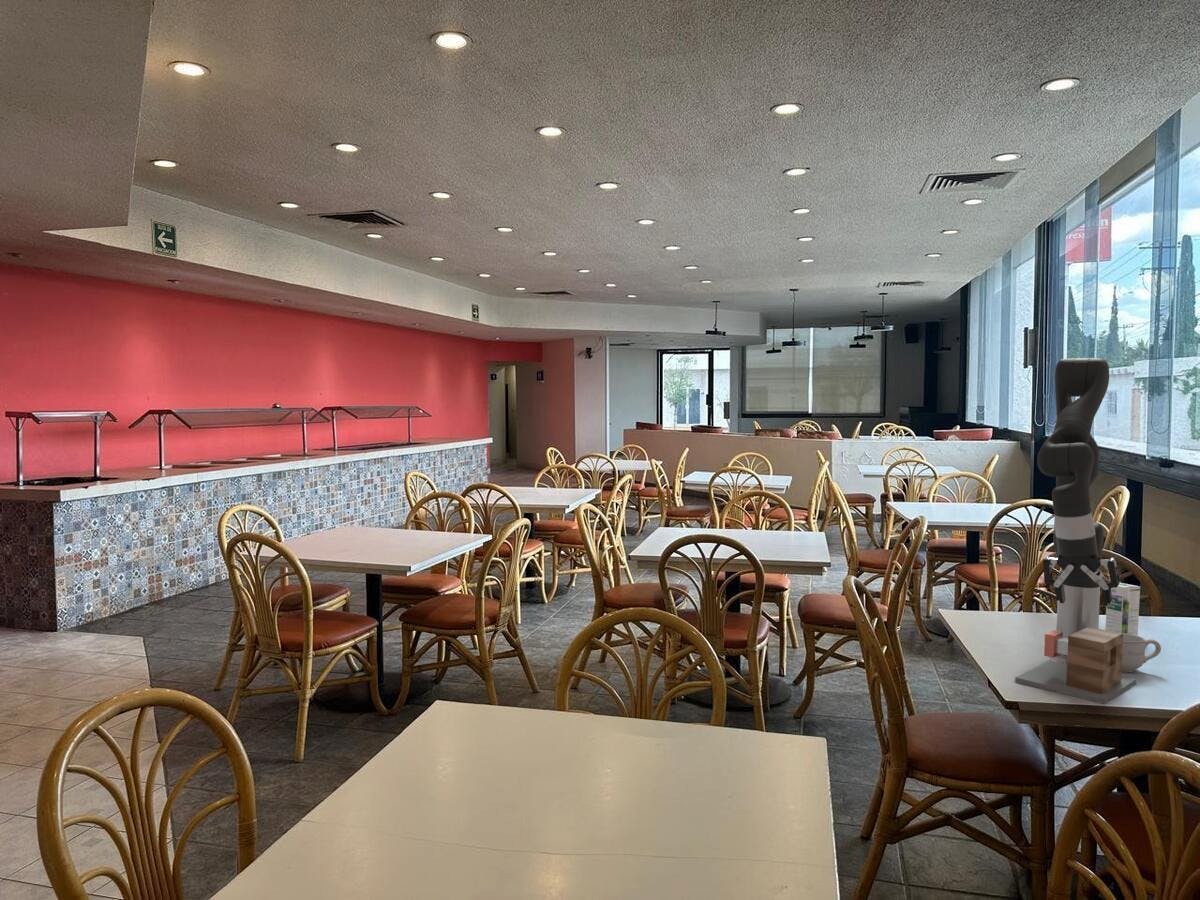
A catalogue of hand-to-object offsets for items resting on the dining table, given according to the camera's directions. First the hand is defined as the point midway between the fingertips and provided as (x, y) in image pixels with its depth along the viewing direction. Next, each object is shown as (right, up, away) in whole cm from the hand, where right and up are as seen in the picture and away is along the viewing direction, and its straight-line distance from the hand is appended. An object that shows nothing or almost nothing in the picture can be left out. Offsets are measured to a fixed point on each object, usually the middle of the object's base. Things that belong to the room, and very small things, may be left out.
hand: (1084, 603), depth 180 cm
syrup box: (+35, -17, +42) cm, 57 cm away
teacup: (+18, -19, +14) cm, 29 cm away
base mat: (0, -19, +4) cm, 19 cm away
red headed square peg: (-1, -13, +4) cm, 14 cm away
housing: (+2, -19, 0) cm, 19 cm away
